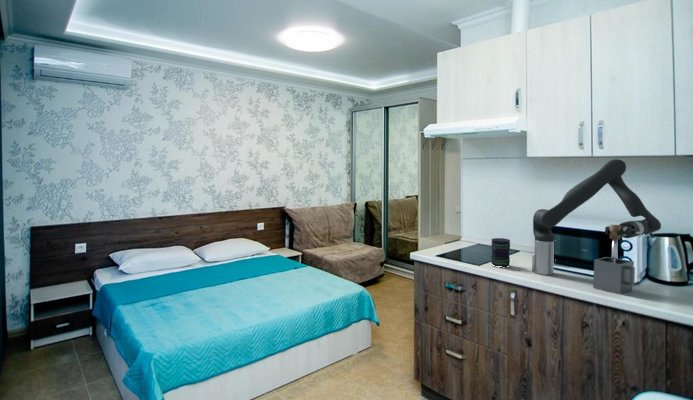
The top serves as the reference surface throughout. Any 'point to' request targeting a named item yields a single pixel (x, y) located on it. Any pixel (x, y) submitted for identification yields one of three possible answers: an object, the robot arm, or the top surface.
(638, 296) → the top surface
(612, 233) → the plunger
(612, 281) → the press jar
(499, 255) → the storage jar
